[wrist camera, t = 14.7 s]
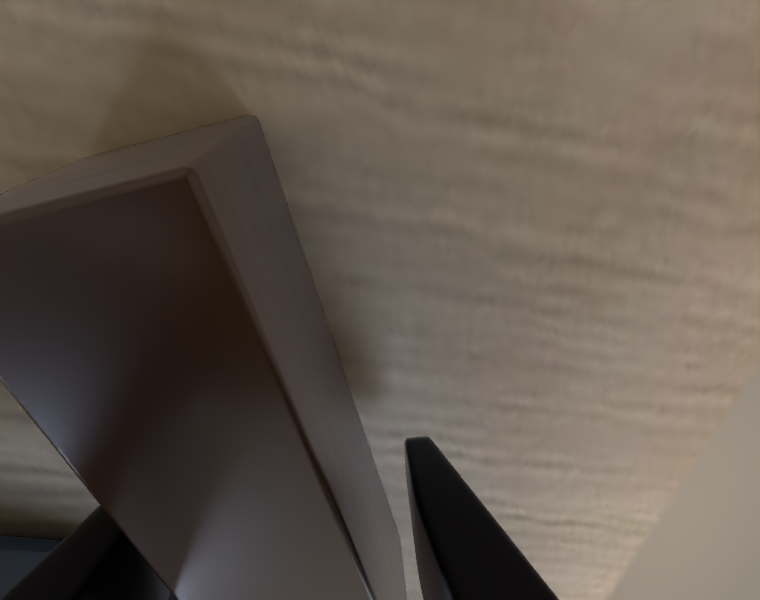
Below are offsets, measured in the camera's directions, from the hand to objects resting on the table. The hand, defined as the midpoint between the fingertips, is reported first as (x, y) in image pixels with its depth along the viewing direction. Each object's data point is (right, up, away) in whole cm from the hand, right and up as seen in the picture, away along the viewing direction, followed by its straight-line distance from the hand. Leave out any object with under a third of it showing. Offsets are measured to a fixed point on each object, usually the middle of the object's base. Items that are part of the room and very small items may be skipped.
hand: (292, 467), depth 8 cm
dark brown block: (0, +1, 0) cm, 1 cm away
